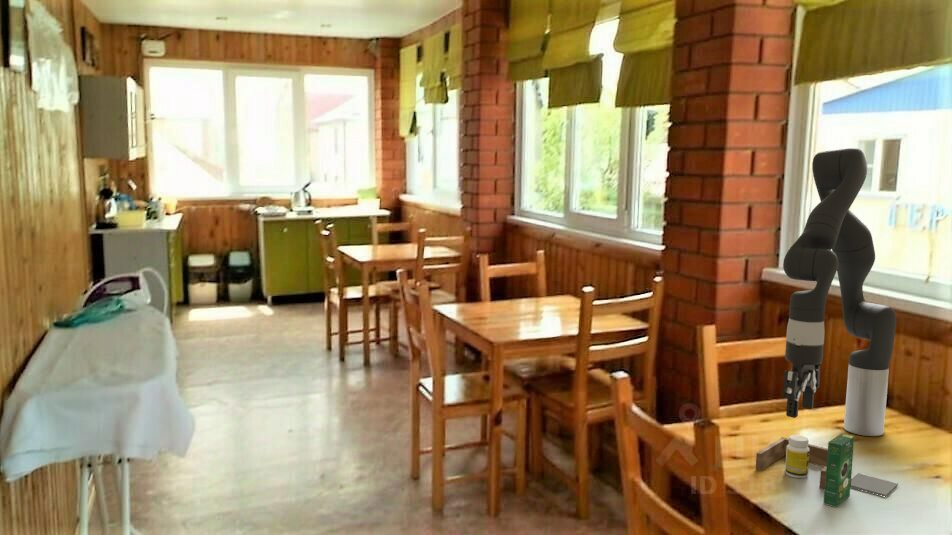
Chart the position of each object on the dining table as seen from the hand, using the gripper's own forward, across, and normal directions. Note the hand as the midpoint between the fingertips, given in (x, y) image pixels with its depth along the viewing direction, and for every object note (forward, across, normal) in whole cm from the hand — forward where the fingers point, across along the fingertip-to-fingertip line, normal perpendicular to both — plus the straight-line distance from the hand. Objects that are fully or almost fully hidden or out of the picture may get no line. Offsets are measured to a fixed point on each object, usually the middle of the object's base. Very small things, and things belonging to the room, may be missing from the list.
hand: (799, 412), depth 169 cm
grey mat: (+14, -5, +14) cm, 21 cm away
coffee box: (+14, +7, +11) cm, 20 cm away
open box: (+14, -3, 0) cm, 14 cm away
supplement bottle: (+14, 0, 0) cm, 14 cm away
